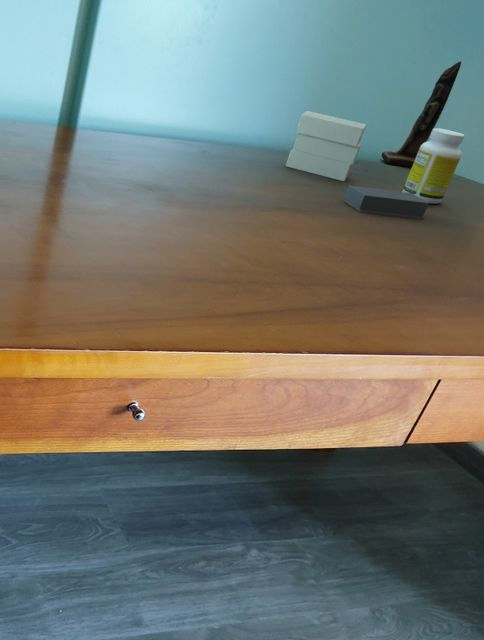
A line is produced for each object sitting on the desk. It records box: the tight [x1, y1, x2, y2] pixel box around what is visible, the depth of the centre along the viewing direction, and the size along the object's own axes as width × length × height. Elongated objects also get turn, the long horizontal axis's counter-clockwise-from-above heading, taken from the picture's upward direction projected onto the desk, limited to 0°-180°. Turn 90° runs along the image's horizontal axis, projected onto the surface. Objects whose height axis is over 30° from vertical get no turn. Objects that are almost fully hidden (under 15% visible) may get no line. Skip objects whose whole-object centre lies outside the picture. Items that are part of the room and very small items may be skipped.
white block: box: [295, 110, 367, 147], centre depth 124 cm, size 10×6×3 cm, turn 61°
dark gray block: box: [343, 185, 429, 220], centre depth 104 cm, size 10×4×4 cm, turn 96°
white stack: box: [285, 132, 363, 182], centre depth 126 cm, size 10×4×6 cm, turn 61°
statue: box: [381, 60, 462, 168], centre depth 140 cm, size 4×7×20 cm, turn 85°
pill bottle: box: [401, 127, 465, 205], centre depth 119 cm, size 6×6×11 cm
